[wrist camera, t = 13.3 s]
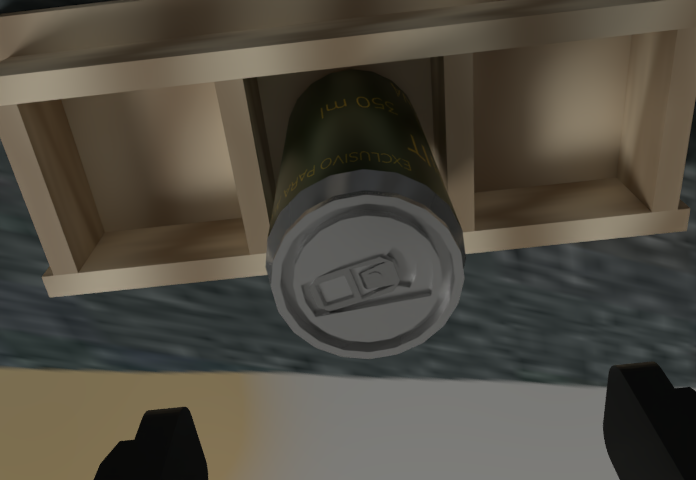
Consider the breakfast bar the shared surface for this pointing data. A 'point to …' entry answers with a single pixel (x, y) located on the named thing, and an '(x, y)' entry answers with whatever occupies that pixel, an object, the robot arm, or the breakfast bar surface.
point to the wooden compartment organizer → (290, 83)
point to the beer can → (362, 222)
